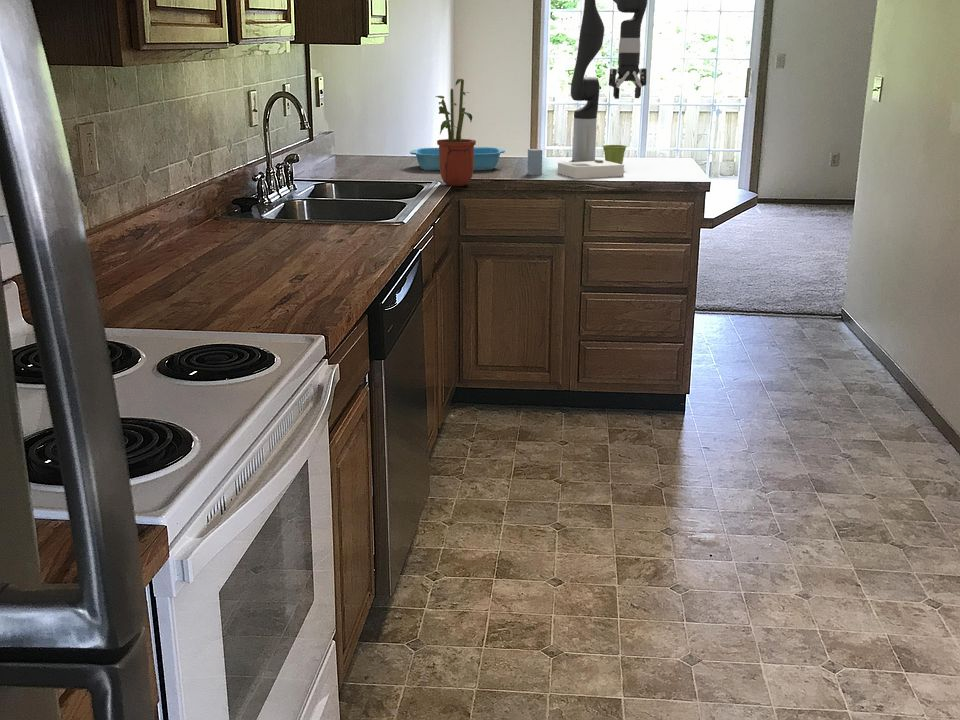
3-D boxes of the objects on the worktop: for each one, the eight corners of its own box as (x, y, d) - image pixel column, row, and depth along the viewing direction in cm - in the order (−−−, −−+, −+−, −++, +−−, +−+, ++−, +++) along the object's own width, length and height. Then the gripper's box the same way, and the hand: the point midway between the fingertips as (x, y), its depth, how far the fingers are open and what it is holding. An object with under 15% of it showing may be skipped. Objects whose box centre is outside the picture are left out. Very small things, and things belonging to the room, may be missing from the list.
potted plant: (483, 184, 332) (483, 78, 321) (457, 189, 319) (457, 79, 308) (441, 180, 341) (440, 77, 330) (415, 185, 328) (413, 78, 317)
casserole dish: (410, 172, 363) (409, 153, 361) (410, 164, 384) (409, 146, 382) (507, 171, 366) (507, 152, 363) (502, 164, 387) (502, 146, 384)
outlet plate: (557, 173, 359) (558, 160, 358) (605, 171, 366) (605, 158, 365) (574, 178, 347) (575, 164, 346) (623, 175, 354) (624, 162, 353)
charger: (527, 174, 358) (527, 149, 355) (537, 173, 360) (537, 148, 357) (531, 175, 355) (532, 150, 352) (541, 174, 356) (542, 150, 353)
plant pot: (597, 169, 372) (598, 146, 370) (606, 166, 380) (607, 144, 377) (620, 170, 368) (621, 147, 365) (629, 168, 376) (630, 145, 373)
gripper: (640, 51, 349) (638, 97, 354) (606, 51, 344) (604, 98, 349) (652, 51, 342) (649, 98, 348) (617, 51, 337) (615, 99, 342)
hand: (626, 98), depth 348 cm, fingers open, 8 cm apart
